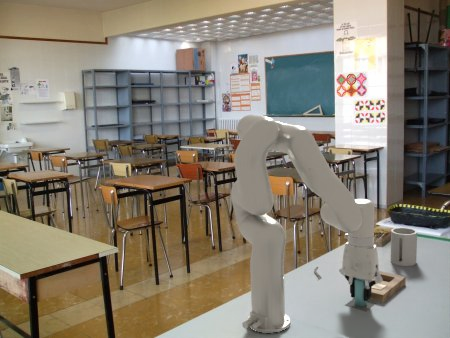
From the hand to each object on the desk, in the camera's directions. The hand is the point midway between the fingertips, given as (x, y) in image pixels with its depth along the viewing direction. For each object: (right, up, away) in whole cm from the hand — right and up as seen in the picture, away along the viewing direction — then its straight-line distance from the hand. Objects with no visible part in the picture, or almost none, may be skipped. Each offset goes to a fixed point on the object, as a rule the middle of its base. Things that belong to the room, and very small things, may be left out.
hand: (360, 297), depth 154 cm
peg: (0, -2, 0) cm, 2 cm away
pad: (0, -3, +1) cm, 3 cm away
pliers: (-5, 0, +23) cm, 24 cm away
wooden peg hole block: (+9, -1, +11) cm, 14 cm away
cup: (+26, +4, +36) cm, 44 cm away
